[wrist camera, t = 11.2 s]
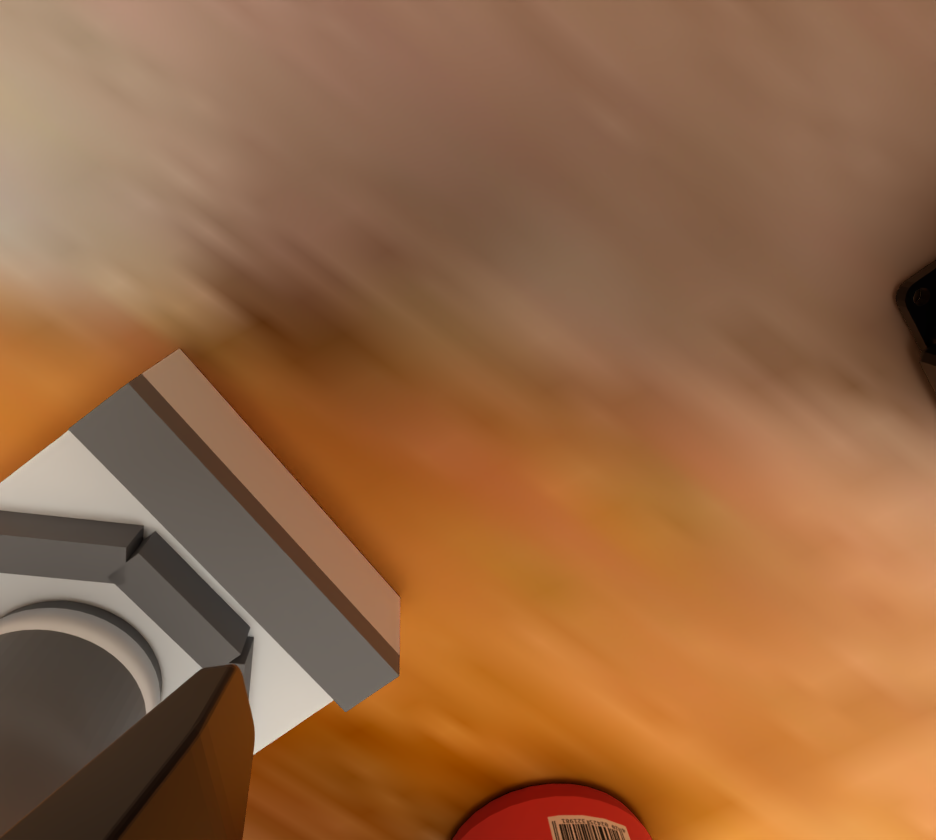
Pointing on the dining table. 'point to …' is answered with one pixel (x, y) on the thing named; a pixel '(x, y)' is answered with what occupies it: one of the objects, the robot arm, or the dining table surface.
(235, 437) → the square flange plate
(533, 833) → the canned food
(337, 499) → the dining table surface
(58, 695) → the gray tumbler
